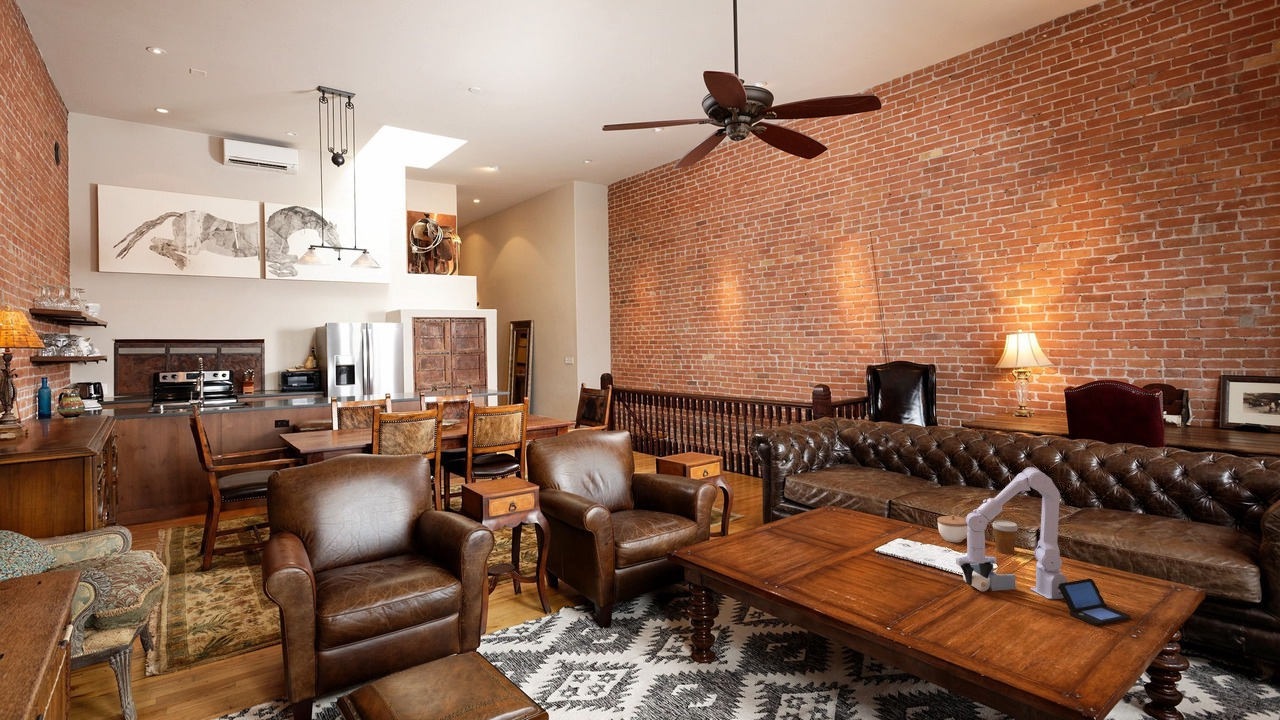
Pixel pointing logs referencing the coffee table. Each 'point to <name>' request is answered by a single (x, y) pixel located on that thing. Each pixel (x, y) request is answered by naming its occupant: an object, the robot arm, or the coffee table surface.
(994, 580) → the holder
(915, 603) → the coffee table surface
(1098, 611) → the game console
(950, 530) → the lidded bowl
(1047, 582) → the robot arm
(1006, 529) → the disposable coffee cup
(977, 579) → the roll
